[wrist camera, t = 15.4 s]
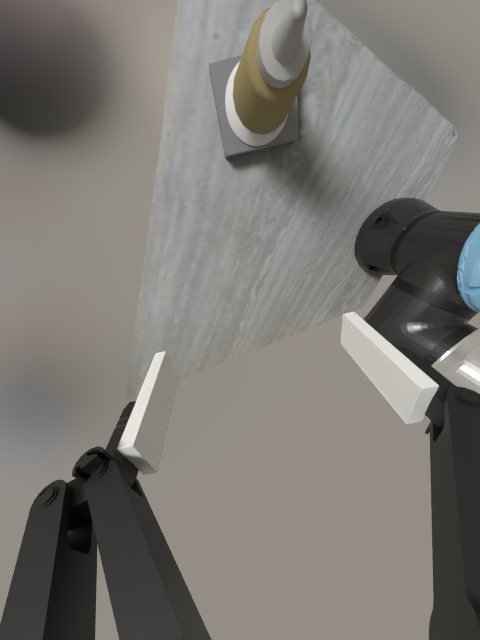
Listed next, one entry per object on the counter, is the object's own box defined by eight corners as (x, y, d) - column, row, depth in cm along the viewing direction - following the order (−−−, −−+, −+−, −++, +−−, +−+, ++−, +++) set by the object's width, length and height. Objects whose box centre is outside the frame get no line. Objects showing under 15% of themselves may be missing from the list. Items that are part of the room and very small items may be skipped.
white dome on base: (290, 52, 29) (297, 38, 27) (294, 141, 35) (300, 137, 32) (209, 72, 30) (208, 60, 27) (225, 158, 35) (225, 155, 32)
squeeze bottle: (241, 50, 27) (270, -140, 12) (295, 81, 29) (379, -48, 14) (224, 127, 31) (229, 59, 16) (272, 150, 33) (319, 110, 17)
